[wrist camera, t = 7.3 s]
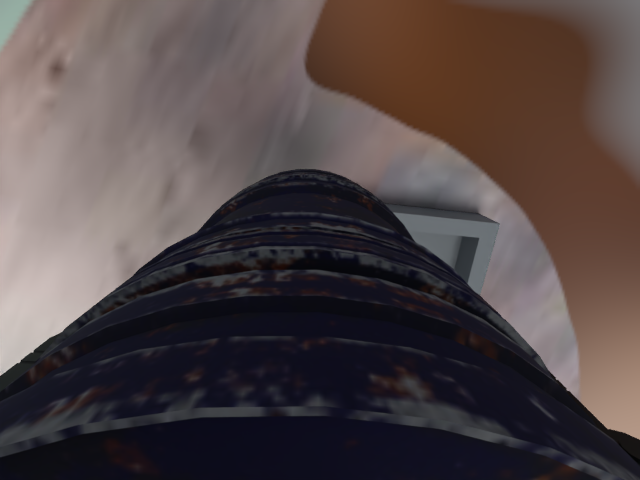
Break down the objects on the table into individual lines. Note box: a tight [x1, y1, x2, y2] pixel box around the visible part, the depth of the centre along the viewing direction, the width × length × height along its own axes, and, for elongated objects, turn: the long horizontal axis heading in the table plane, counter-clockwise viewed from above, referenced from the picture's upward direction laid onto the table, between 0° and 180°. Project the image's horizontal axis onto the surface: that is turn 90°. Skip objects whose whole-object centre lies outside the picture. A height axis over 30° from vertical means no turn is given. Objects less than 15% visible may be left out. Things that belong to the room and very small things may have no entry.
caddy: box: [384, 203, 500, 295], centre depth 34 cm, size 16×16×4 cm
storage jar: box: [0, 169, 640, 480], centre depth 11 cm, size 10×10×15 cm
